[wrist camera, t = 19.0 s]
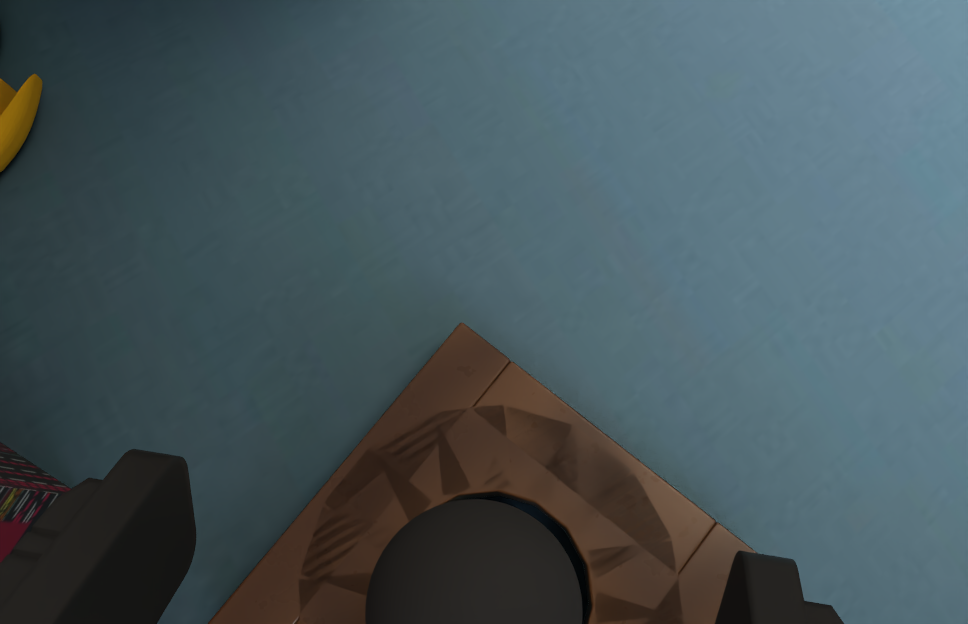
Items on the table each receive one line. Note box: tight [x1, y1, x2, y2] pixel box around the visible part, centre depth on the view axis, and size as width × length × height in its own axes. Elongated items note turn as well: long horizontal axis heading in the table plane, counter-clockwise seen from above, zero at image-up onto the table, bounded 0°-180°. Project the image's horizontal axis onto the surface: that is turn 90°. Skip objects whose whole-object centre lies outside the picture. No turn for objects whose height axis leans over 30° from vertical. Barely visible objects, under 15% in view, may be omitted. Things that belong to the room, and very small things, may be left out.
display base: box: [208, 323, 758, 624], centre depth 27 cm, size 12×12×2 cm
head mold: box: [365, 499, 583, 624], centre depth 23 cm, size 5×5×10 cm
